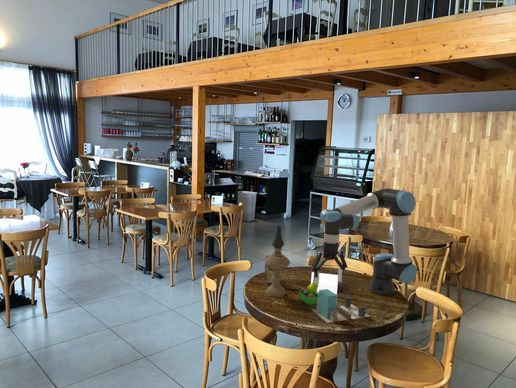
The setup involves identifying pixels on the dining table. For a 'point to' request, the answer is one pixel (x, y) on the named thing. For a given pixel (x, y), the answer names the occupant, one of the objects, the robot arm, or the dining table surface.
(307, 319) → the dining table surface
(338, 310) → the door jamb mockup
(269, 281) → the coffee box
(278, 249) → the oil lamp
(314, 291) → the fruit basket
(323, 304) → the teal box
